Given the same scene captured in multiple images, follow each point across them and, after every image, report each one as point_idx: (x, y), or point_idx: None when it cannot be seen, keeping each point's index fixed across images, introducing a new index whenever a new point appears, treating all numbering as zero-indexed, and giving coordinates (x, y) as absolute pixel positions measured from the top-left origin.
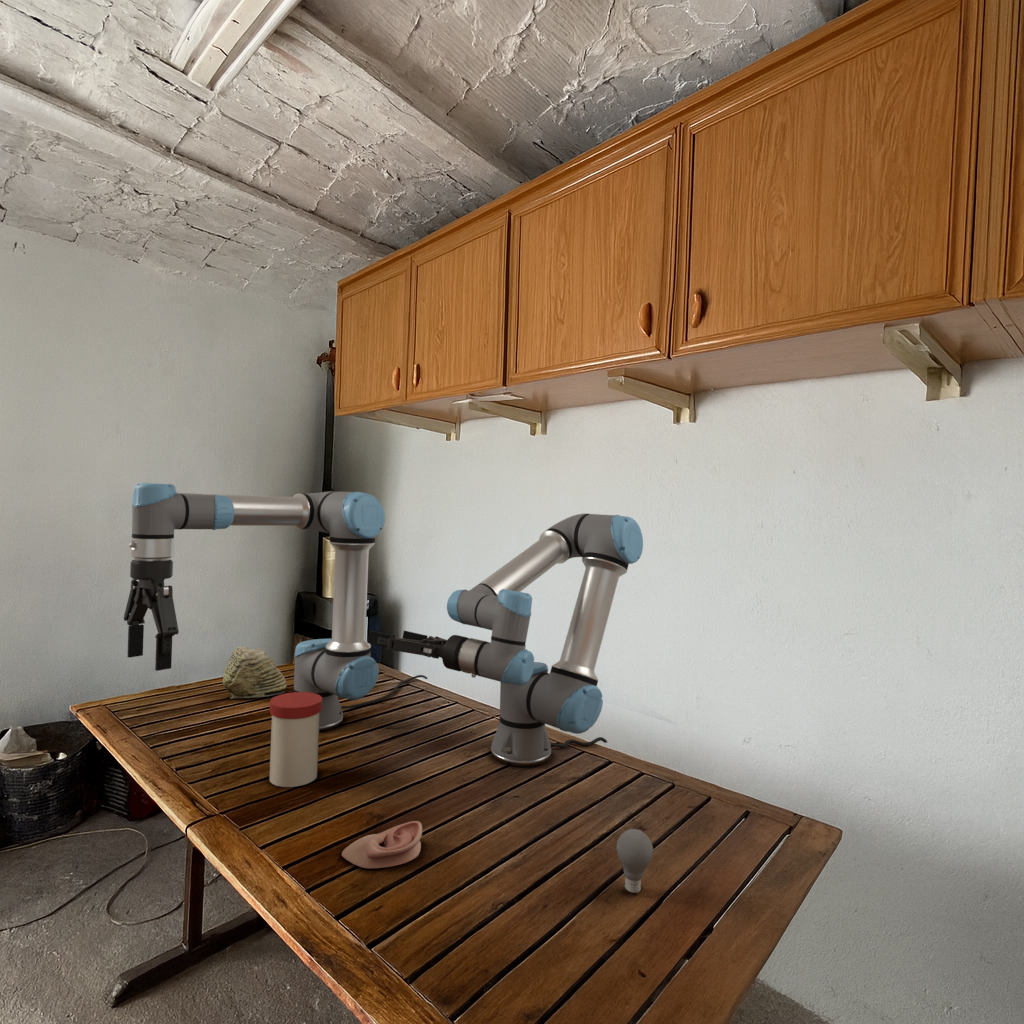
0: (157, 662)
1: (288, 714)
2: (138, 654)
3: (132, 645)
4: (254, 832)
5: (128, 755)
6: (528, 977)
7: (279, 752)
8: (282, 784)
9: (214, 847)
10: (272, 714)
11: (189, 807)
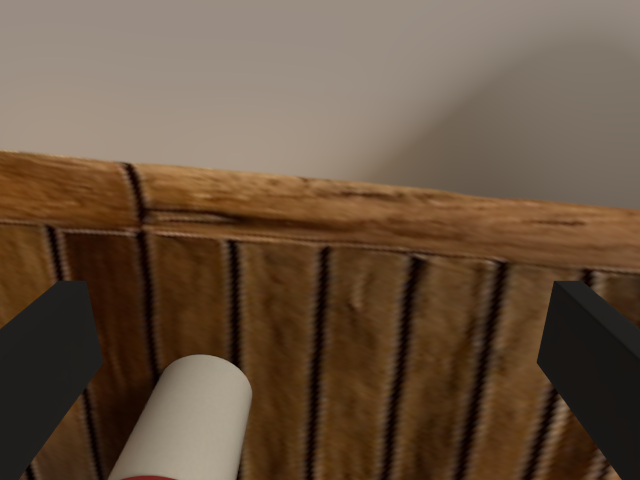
0: (20, 313)
1: None
2: (546, 345)
3: (599, 353)
4: (21, 239)
5: (589, 216)
6: None
7: (160, 407)
8: (174, 363)
9: (5, 160)
10: (151, 478)
11: (209, 199)
